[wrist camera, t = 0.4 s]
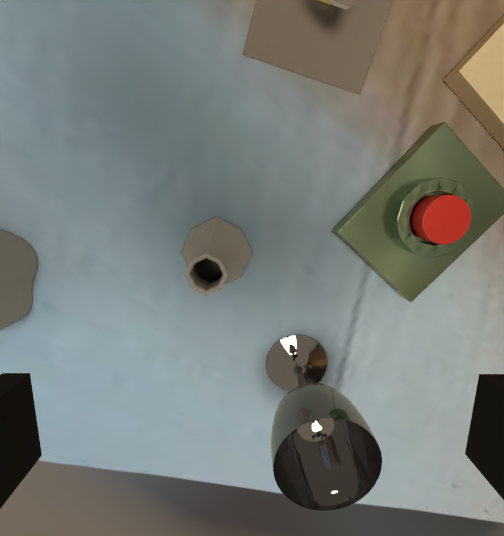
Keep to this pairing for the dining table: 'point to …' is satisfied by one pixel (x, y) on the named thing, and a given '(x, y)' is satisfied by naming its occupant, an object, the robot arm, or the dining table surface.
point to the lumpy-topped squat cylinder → (15, 278)
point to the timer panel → (483, 81)
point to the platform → (318, 37)
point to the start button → (441, 218)
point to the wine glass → (317, 432)
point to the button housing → (404, 203)
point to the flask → (215, 255)
